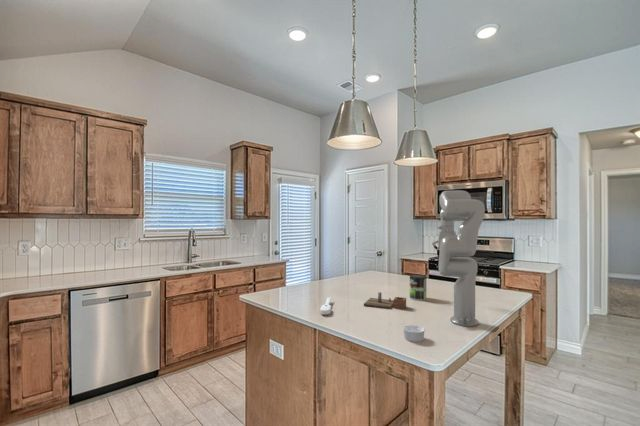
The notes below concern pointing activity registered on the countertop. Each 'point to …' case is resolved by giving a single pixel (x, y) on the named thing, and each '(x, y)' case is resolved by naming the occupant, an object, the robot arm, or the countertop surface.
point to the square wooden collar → (399, 303)
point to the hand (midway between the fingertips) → (447, 257)
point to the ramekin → (413, 333)
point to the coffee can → (418, 287)
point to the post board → (379, 302)
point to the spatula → (326, 307)
